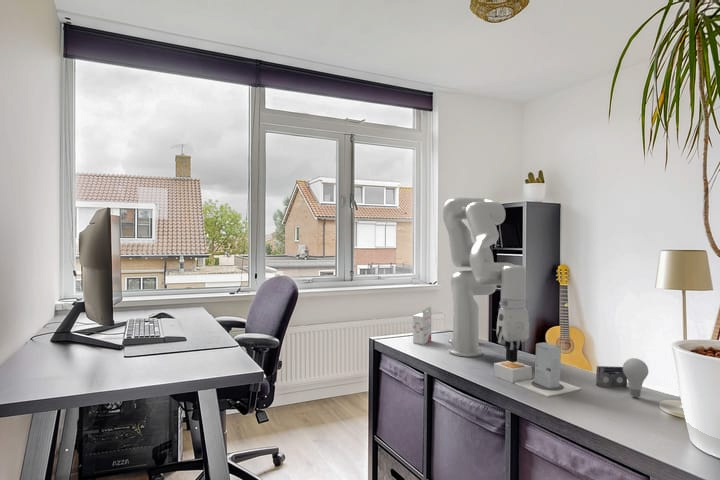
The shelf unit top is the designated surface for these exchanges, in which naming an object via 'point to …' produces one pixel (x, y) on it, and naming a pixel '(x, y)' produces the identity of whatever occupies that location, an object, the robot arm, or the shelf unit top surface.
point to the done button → (512, 364)
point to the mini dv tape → (610, 377)
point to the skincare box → (547, 365)
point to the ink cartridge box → (422, 327)
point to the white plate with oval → (547, 391)
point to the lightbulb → (635, 375)
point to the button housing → (512, 372)
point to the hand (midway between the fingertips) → (511, 360)
